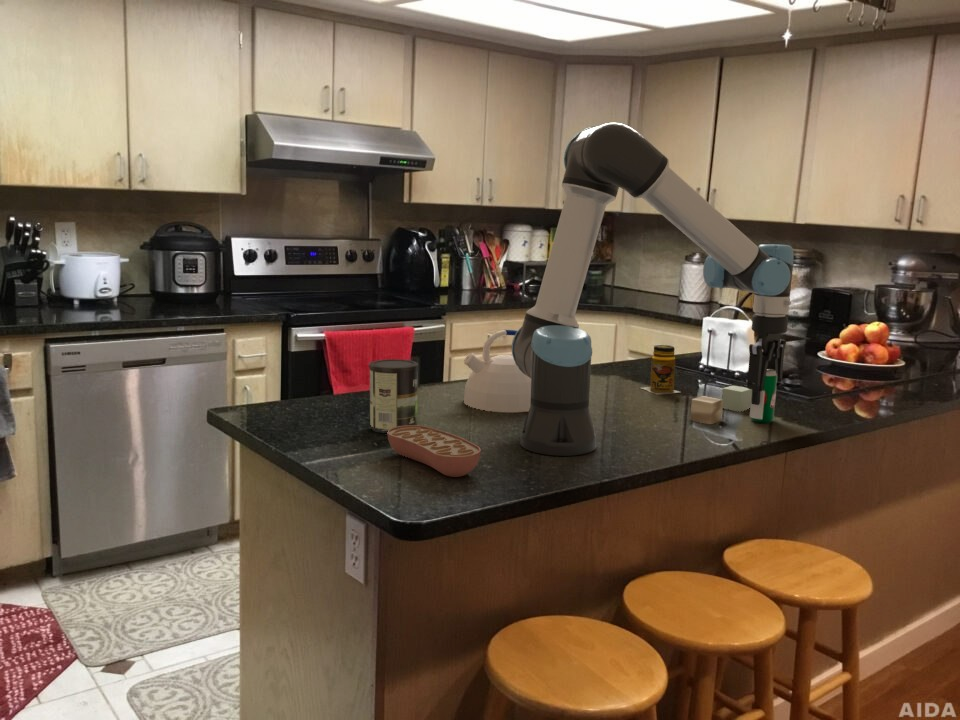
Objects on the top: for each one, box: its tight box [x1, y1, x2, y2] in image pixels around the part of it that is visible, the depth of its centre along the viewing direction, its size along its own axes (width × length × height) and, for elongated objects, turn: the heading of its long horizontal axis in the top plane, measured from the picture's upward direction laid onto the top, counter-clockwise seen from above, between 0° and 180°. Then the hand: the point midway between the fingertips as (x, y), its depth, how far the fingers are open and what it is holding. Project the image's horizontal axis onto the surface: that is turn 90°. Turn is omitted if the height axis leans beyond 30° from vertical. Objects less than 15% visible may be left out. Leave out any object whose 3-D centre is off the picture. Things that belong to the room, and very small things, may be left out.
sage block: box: [721, 385, 752, 413], centre depth 202 cm, size 5×5×5 cm
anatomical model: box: [386, 424, 482, 478], centre depth 155 cm, size 23×10×5 cm, turn 38°
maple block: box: [689, 395, 723, 425], centre depth 190 cm, size 5×5×5 cm
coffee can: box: [368, 358, 419, 431], centre depth 178 cm, size 10×10×14 cm
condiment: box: [640, 344, 680, 395], centre depth 220 cm, size 7×8×12 cm
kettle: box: [463, 329, 531, 414], centre depth 202 cm, size 20×21×18 cm
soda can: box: [749, 368, 777, 424], centre depth 190 cm, size 5×5×12 cm
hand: (761, 415), depth 191 cm, fingers closed on soda can, 5 cm apart
